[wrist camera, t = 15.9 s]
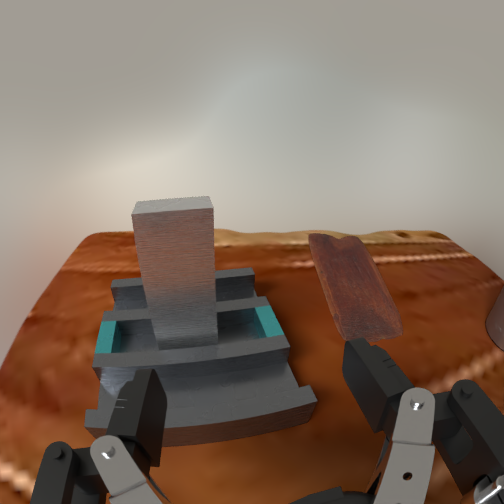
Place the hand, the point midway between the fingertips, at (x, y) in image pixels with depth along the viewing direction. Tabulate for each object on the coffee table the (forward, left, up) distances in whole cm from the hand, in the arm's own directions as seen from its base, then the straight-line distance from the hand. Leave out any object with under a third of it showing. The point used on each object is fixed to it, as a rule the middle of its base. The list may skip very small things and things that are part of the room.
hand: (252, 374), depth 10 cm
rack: (+3, -10, -11) cm, 15 cm away
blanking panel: (+3, -10, -9) cm, 14 cm away
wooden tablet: (-20, -20, -11) cm, 31 cm away
